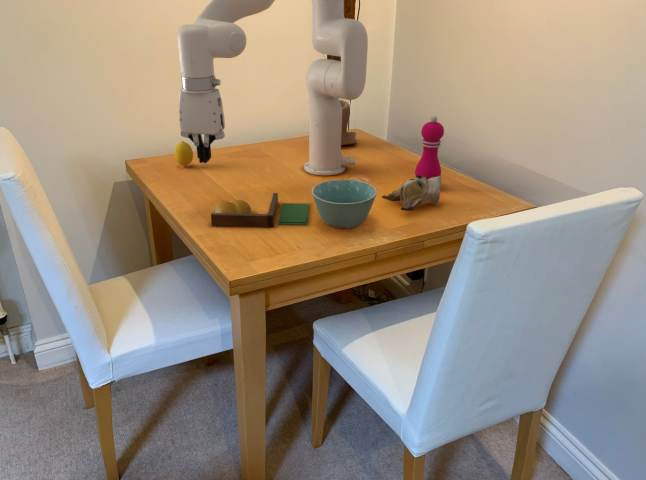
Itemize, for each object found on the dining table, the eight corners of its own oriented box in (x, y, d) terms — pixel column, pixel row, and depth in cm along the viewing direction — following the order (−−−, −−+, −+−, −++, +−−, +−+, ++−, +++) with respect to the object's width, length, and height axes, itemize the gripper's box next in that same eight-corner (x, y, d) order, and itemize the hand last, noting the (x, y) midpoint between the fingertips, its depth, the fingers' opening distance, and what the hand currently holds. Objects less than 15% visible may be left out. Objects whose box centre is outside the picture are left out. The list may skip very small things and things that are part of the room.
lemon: (192, 169, 177) (189, 144, 173) (174, 169, 177) (171, 143, 173) (195, 164, 182) (193, 138, 178) (178, 163, 182) (175, 138, 178)
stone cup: (319, 151, 193) (320, 105, 185) (311, 141, 203) (312, 97, 195) (363, 149, 196) (365, 103, 188) (353, 139, 206) (355, 95, 198)
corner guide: (278, 203, 154) (277, 192, 153) (273, 227, 141) (272, 215, 140) (221, 202, 155) (221, 191, 153) (211, 226, 142) (210, 213, 140)
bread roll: (256, 218, 146) (255, 203, 144) (222, 224, 142) (221, 209, 140) (243, 206, 152) (243, 192, 150) (211, 212, 149) (209, 197, 147)
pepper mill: (441, 185, 166) (451, 114, 156) (435, 193, 161) (444, 120, 151) (417, 181, 169) (424, 111, 159) (410, 189, 163) (417, 117, 153)
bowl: (328, 239, 135) (329, 206, 131) (301, 215, 148) (301, 184, 144) (386, 228, 141) (389, 196, 137) (356, 205, 153) (357, 175, 149)
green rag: (308, 204, 154) (308, 202, 153) (306, 225, 142) (306, 223, 142) (282, 204, 154) (282, 202, 154) (278, 224, 143) (278, 222, 142)
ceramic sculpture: (453, 176, 147) (403, 188, 142) (451, 207, 151) (401, 220, 147) (429, 164, 155) (380, 174, 151) (427, 194, 160) (380, 205, 155)
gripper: (234, 81, 136) (238, 158, 145) (173, 79, 138) (181, 154, 147) (224, 88, 129) (229, 168, 139) (161, 85, 132) (170, 164, 141)
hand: (204, 161), depth 143 cm, fingers closed
